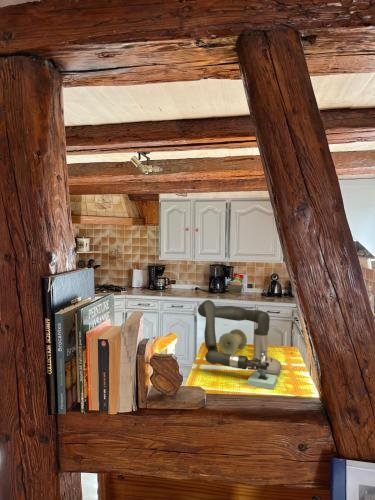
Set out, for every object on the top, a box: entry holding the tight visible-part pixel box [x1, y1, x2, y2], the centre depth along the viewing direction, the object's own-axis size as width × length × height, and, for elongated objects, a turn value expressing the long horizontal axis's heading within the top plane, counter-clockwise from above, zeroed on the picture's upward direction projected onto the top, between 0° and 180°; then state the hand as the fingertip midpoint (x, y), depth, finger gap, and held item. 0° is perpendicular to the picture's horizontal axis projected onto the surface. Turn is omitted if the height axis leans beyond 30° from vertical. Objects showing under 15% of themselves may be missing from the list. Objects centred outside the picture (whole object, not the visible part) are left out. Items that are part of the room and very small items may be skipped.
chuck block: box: [247, 371, 278, 391], centre depth 191 cm, size 14×14×3 cm
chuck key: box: [260, 351, 266, 380], centre depth 191 cm, size 7×3×18 cm, turn 156°
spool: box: [218, 328, 248, 355], centre depth 249 cm, size 16×15×15 cm
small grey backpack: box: [257, 356, 282, 377], centre depth 208 cm, size 15×8×20 cm
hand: (267, 366), depth 190 cm, fingers open, 4 cm apart
